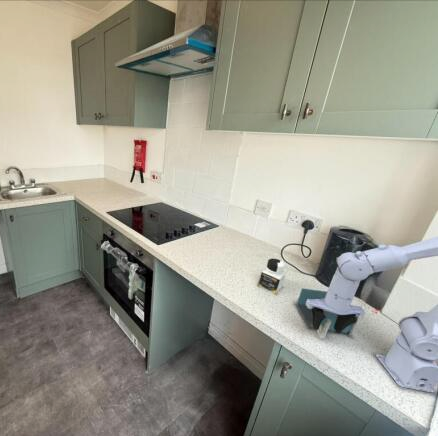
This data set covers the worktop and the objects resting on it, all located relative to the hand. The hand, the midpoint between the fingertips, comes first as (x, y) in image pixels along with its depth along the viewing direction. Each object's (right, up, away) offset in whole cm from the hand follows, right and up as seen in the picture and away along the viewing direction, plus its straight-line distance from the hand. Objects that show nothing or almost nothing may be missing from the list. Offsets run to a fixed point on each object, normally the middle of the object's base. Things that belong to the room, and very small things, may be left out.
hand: (325, 329), depth 74 cm
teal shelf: (+4, -3, +3) cm, 6 cm away
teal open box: (+6, -1, +11) cm, 12 cm away
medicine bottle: (-3, +5, +27) cm, 28 cm away
